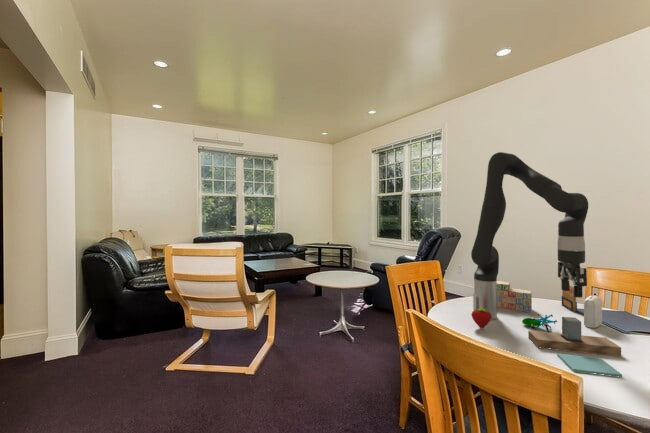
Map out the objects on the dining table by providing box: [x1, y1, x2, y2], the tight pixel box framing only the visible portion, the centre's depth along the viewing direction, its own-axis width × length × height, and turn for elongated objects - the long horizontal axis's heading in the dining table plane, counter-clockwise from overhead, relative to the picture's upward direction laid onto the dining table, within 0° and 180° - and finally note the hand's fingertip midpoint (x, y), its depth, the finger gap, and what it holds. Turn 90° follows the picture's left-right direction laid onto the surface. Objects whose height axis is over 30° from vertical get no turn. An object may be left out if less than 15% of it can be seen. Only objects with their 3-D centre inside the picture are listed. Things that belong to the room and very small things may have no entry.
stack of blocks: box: [497, 280, 533, 313], centre depth 148 cm, size 21×6×12 cm, turn 51°
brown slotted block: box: [527, 330, 622, 357], centre depth 104 cm, size 24×8×3 cm, turn 73°
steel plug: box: [561, 316, 582, 342], centre depth 104 cm, size 4×4×10 cm
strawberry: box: [471, 304, 492, 329], centre depth 121 cm, size 6×8×10 cm
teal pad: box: [556, 353, 623, 378], centre depth 91 cm, size 12×10×1 cm
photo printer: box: [583, 295, 603, 329], centre depth 123 cm, size 10×4×12 cm, turn 123°
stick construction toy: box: [521, 313, 558, 333], centre depth 119 cm, size 12×7×8 cm
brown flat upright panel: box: [561, 284, 578, 313], centre depth 144 cm, size 11×2×12 cm, turn 164°
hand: (571, 293), depth 104 cm, fingers open, 8 cm apart
